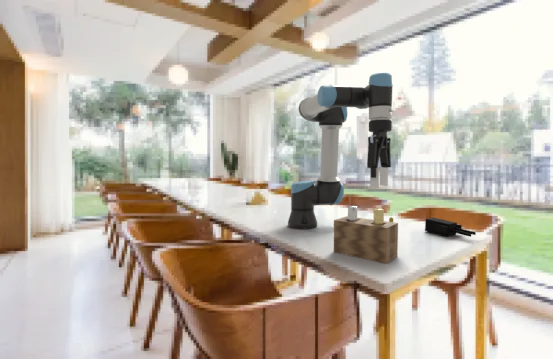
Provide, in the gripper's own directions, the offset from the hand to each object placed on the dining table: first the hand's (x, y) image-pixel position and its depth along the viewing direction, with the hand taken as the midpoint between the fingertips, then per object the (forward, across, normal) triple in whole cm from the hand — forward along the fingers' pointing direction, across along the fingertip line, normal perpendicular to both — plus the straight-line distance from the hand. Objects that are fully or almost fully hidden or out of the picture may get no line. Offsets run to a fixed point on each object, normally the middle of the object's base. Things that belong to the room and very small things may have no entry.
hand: (379, 186), depth 108 cm
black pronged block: (+25, +49, -12) cm, 57 cm away
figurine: (+26, +36, +18) cm, 48 cm away
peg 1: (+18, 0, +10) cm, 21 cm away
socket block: (+25, 0, +5) cm, 26 cm away
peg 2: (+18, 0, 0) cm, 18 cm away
